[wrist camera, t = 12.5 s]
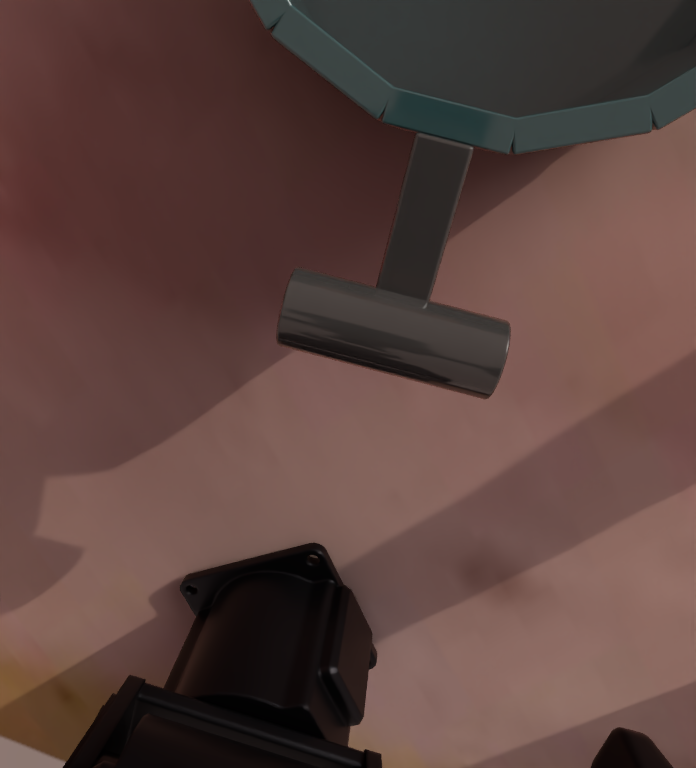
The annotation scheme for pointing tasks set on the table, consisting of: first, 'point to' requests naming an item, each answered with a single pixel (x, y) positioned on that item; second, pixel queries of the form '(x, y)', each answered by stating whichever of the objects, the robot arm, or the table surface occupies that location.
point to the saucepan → (467, 144)
